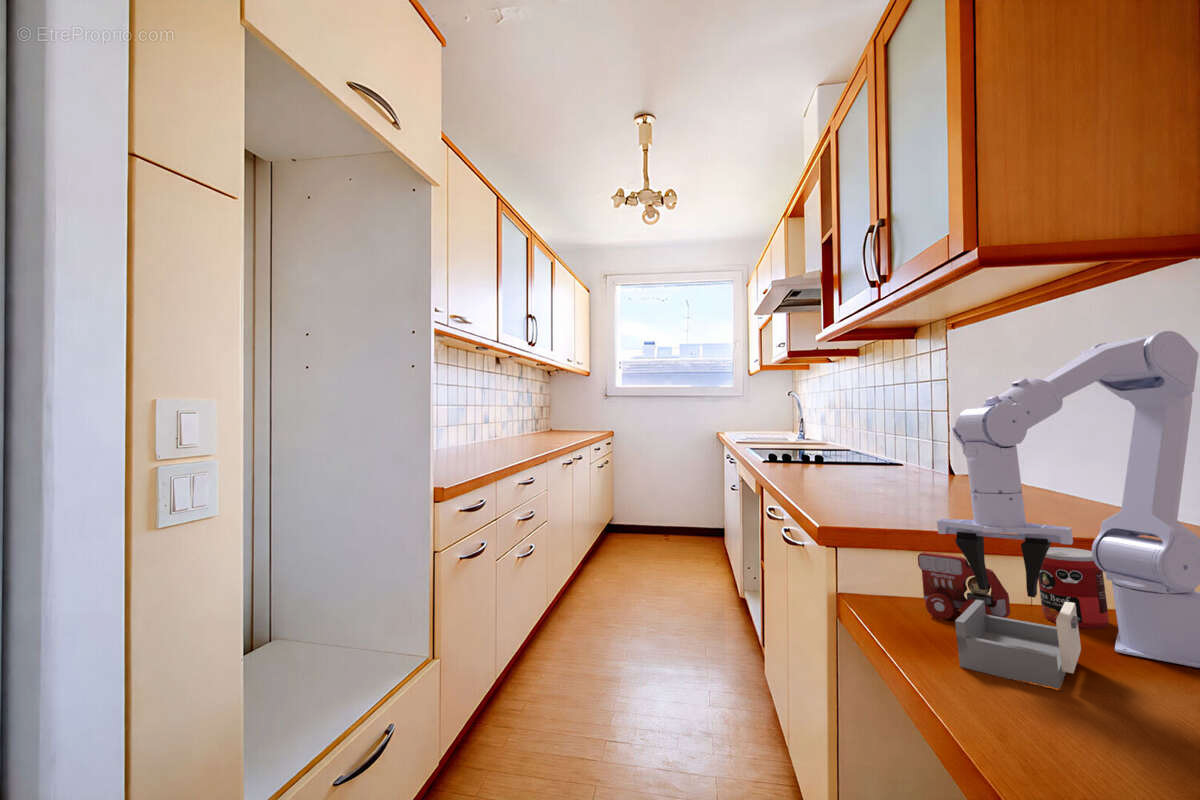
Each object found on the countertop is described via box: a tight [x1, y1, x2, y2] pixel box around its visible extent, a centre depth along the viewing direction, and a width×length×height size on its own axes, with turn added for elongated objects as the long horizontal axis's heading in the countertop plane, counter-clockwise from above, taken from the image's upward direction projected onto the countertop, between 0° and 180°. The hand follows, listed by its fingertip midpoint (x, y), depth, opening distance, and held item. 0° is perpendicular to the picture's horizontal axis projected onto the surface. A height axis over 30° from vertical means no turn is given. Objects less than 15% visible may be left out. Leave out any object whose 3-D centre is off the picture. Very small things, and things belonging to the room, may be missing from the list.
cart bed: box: [954, 600, 1067, 689], centre depth 68 cm, size 10×12×6 cm
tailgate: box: [1055, 602, 1082, 674], centre depth 64 cm, size 1×9×6 cm, turn 132°
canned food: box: [1038, 546, 1110, 630], centre depth 82 cm, size 8×8×11 cm
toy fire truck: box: [917, 551, 1011, 620], centre depth 85 cm, size 7×12×10 cm, turn 40°
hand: (1007, 591), depth 69 cm, fingers open, 5 cm apart
